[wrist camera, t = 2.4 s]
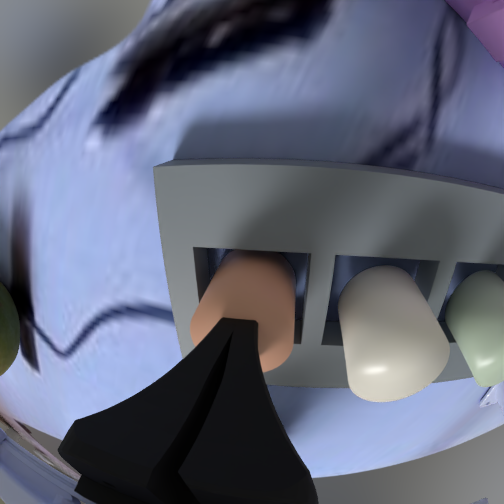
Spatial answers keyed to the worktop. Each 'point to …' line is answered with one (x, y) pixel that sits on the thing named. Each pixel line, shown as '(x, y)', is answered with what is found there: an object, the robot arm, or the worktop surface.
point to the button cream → (389, 335)
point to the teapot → (484, 23)
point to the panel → (322, 239)
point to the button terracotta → (252, 301)
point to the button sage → (479, 325)
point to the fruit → (8, 330)
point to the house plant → (13, 435)
